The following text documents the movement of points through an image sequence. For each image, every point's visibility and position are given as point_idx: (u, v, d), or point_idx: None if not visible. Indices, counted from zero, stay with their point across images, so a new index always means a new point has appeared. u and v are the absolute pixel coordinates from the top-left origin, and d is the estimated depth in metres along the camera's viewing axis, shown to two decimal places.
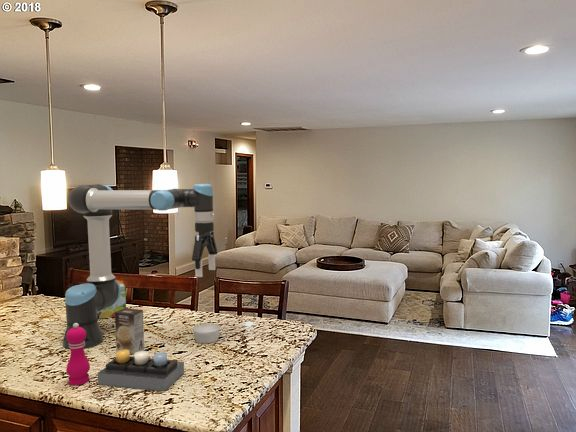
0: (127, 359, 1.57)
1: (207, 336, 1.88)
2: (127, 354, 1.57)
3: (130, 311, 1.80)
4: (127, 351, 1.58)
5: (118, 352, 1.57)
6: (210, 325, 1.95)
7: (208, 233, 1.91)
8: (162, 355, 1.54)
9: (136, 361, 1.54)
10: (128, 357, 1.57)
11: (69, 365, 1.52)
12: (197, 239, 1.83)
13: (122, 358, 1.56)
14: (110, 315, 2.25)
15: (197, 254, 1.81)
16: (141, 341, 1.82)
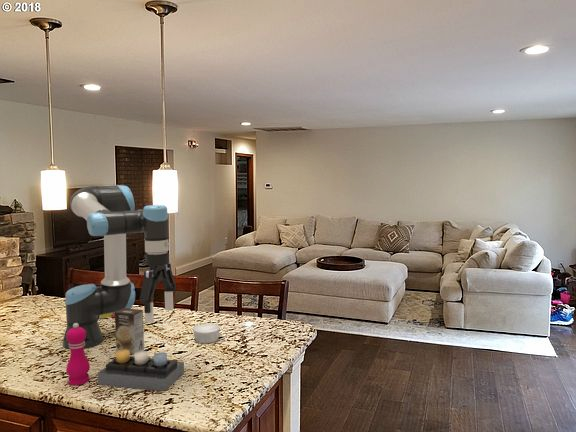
0: (127, 359, 1.57)
1: (207, 336, 1.88)
2: (127, 354, 1.57)
3: (130, 311, 1.80)
4: (127, 351, 1.58)
5: (118, 352, 1.57)
6: (210, 325, 1.96)
7: (163, 266, 1.54)
8: (162, 355, 1.54)
9: (136, 361, 1.54)
10: (128, 357, 1.57)
11: (69, 365, 1.52)
12: (146, 275, 1.46)
13: (122, 358, 1.56)
14: (110, 315, 2.25)
15: (146, 295, 1.44)
16: (141, 341, 1.82)
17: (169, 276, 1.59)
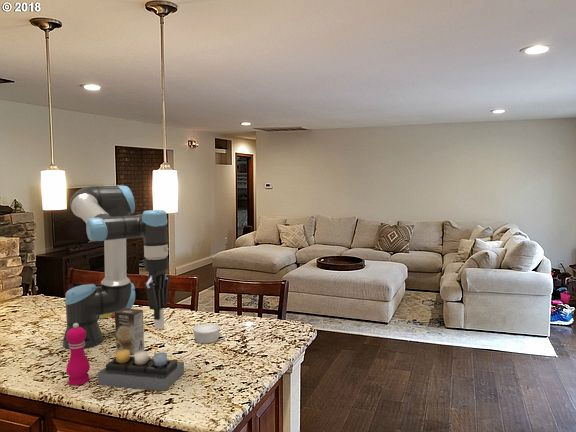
0: (127, 359, 1.57)
1: (207, 336, 1.88)
2: (127, 354, 1.57)
3: (130, 311, 1.80)
4: (127, 351, 1.58)
5: (118, 352, 1.57)
6: (210, 325, 1.96)
7: None
8: (162, 355, 1.54)
9: (136, 361, 1.54)
10: (128, 357, 1.57)
11: (69, 365, 1.52)
12: (148, 287, 1.47)
13: (122, 358, 1.56)
14: (110, 315, 2.25)
15: (154, 304, 1.49)
16: (141, 341, 1.82)
17: (164, 288, 1.56)
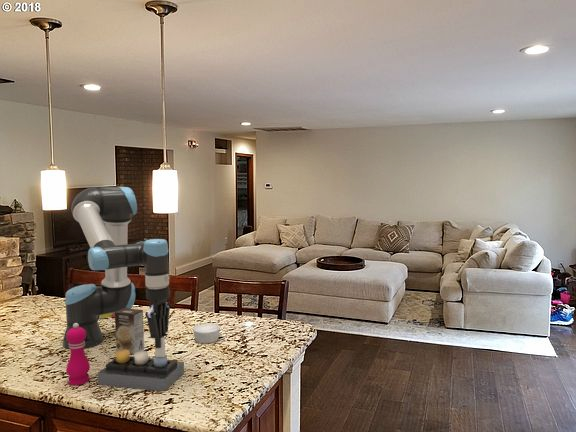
0: (127, 359, 1.57)
1: (207, 336, 1.88)
2: (127, 354, 1.57)
3: (130, 311, 1.80)
4: (127, 351, 1.58)
5: (118, 352, 1.57)
6: (210, 325, 1.95)
7: None
8: (162, 357, 1.54)
9: (136, 361, 1.54)
10: (128, 357, 1.57)
11: (69, 365, 1.52)
12: (149, 317, 1.48)
13: (122, 358, 1.56)
14: (110, 315, 2.25)
15: (155, 333, 1.50)
16: (141, 341, 1.82)
17: (165, 316, 1.57)
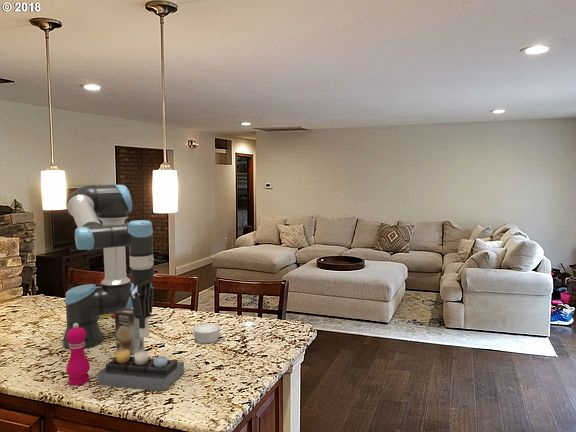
0: (127, 359, 1.57)
1: (207, 336, 1.88)
2: (127, 354, 1.57)
3: (130, 311, 1.80)
4: (127, 351, 1.58)
5: (118, 352, 1.57)
6: (210, 325, 1.96)
7: None
8: (162, 359, 1.54)
9: (136, 361, 1.54)
10: (128, 357, 1.57)
11: (69, 365, 1.52)
12: (133, 297, 1.49)
13: (122, 358, 1.56)
14: (110, 315, 2.25)
15: (139, 313, 1.51)
16: (141, 341, 1.82)
17: (149, 297, 1.58)
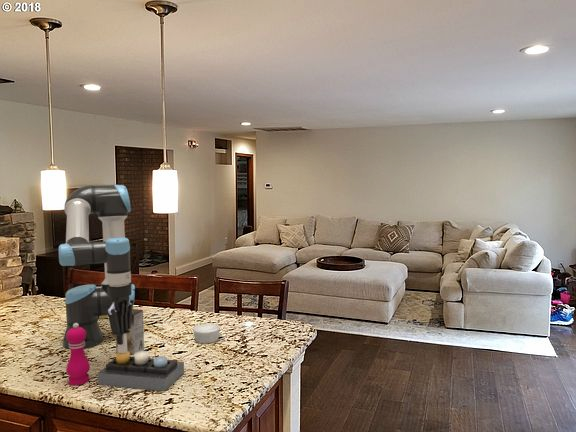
0: (127, 360, 1.57)
1: (207, 336, 1.88)
2: (127, 355, 1.57)
3: None
4: (127, 352, 1.58)
5: (118, 353, 1.57)
6: (210, 325, 1.96)
7: None
8: (162, 359, 1.54)
9: (136, 361, 1.54)
10: (128, 358, 1.57)
11: (69, 365, 1.52)
12: (110, 314, 1.51)
13: (122, 359, 1.56)
14: None
15: (116, 330, 1.53)
16: (141, 341, 1.82)
17: (128, 313, 1.60)
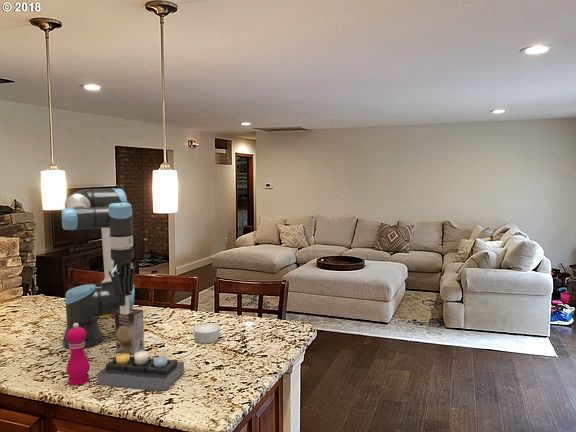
0: None
1: (207, 336, 1.88)
2: (127, 358, 1.57)
3: (130, 311, 1.80)
4: (127, 355, 1.58)
5: (118, 356, 1.57)
6: (210, 325, 1.96)
7: None
8: (162, 359, 1.54)
9: (136, 361, 1.54)
10: (128, 361, 1.57)
11: (69, 365, 1.52)
12: (113, 276, 1.56)
13: (122, 362, 1.56)
14: (110, 315, 2.25)
15: (119, 291, 1.58)
16: (141, 341, 1.82)
17: (130, 276, 1.65)
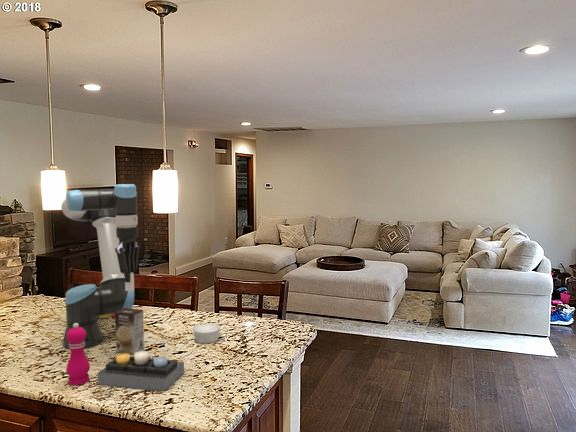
0: None
1: (207, 336, 1.88)
2: (127, 358, 1.57)
3: (130, 311, 1.80)
4: (127, 355, 1.58)
5: (118, 356, 1.57)
6: (210, 325, 1.96)
7: None
8: (162, 359, 1.54)
9: (136, 361, 1.54)
10: (128, 361, 1.57)
11: (69, 365, 1.52)
12: (118, 252, 1.64)
13: (122, 362, 1.56)
14: (110, 315, 2.25)
15: (124, 268, 1.66)
16: (141, 341, 1.82)
17: (135, 254, 1.73)
